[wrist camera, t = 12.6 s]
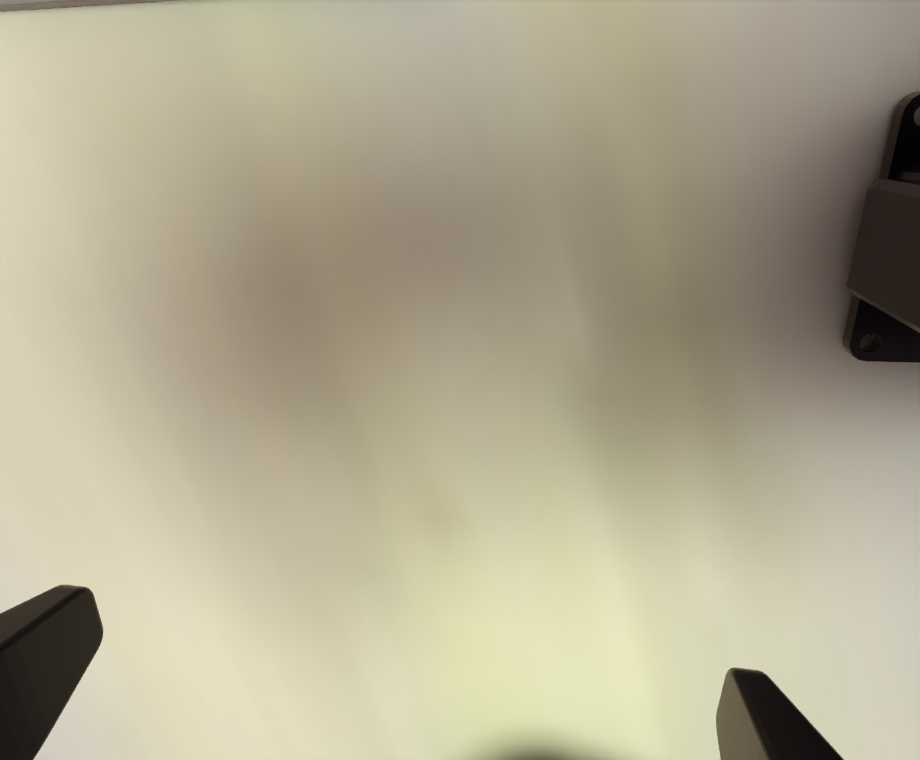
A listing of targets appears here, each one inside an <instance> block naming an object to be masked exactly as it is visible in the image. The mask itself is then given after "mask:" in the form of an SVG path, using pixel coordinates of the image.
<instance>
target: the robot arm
mask: <svg viewBox="0 0 920 760" xmlns="http://www.w3.org/2000/svg"><path fill="white" fill-rule="evenodd" d="M919 106H920V92H916V93H912V94H911V95H909V96H907V97H906V98H904V99H903V100H902V102H901V103H900V104H899V105H898V106H897V108H896V110H895V113H894V115H893V119H892V124H891V128H890V133H889V137H888V142H887V146H886V151H885V155H884V159H883V164H882V168H881V173H880V177H879V180H877V181H876V182H875V183H874V184H873V185H872V186H871V187H870V188H869V189H868V191H867V196H866V200H865V205H864V210H863V214H862V219H861V223H860V228H859V232H858V237H857V241H856V246H855V251H854V255H853V260H852V264H851V269H850V273H849V278H848V282H847V287H848V288H849V289H850V290H851V292H852V293H853V297H852V302H851V306H850V311H849V315H848V320H847V324H846V328H845V333H844V337H843V345H844V347H845V349H846V351H848V352H849V353H850V354H851V355H853V356H854V357H856V358H857V359H858V360H863V361H880V362H920V125H919V126H918V125H917V124H916V123H915V122H914V113H915V111H916V109H917V108H918V107H919ZM870 334H874V340H873V341H872V343H871V344H870V345H868V346H867V347H862V348H861V347H860V342H861V340H862V338H864V337H865V336H866V335H870ZM102 637H103V626H102V622H101V619H100V615H99V612H98V608H97V605H96V601H95V598H94V595H93V592H92V591H91V590H90V589H89V588H86V587H81V586H73V585H60V586H57V587H54V588H52V589H50V590H48V591H46V592H44V593H42V594H40V595H38V596H36V597H34V598H32V599H30V600H28V601H25V602H23V603H21V604H19V605H17V606H15V607H13V608H11V609H9V610H7V611H5V612H3V613H1V614H0V760H33V759H34V758H35V756H36V755H37V753H38V752H39V750H40V748H41V747H42V745H43V743H44V742H45V740H46V738H47V737H48V735H49V734H50V732H51V730H52V728H53V727H54V725H55V723H56V721H57V720H58V718H59V716H60V715H61V713H62V711H63V709H64V708H65V706H66V704H67V702H68V701H69V699H70V697H71V695H72V694H73V692H74V690H75V688H76V687H77V685H78V683H79V681H80V680H81V678H82V676H83V674H84V673H85V671H86V669H87V668H88V666H89V664H90V662H91V661H92V659H93V657H94V655H95V654H96V652H97V650H98V648H99V646H100V644H101V641H102ZM716 728H717V736H718V743H719V750H720V756H721V760H844V759H843V758H842V757H841V756H840V755H839V754H838V753H837V752H836V750H835V749H834V748H833V747H832V746H831V745H830V744H829V743H828V742H827V741H826V739H825V738H824V737H823V736H822V735H821V734H820V733H819V732H818V731H817V729H816V728H815V727H814V726H813V725H812V724H811V723H810V722H809V721H808V720H807V718H806V717H805V716H804V715H803V714H802V713H801V712H800V711H799V710H798V709H797V707H796V706H795V705H794V704H793V703H792V702H791V701H790V700H789V699H788V698H787V696H786V695H785V694H784V693H783V692H782V691H781V690H780V689H779V688H778V686H777V685H776V684H775V683H774V682H773V681H772V680H771V679H770V678H769V677H768V676H767V675H766V674H765V673H763V672H761V671H758V670H750V669H742V668H731V669H729V670H728V672H727V674H726V677H725V681H724V685H723V689H722V693H721V697H720V701H719V705H718V709H717V715H716Z"/></svg>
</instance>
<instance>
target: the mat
mask: <svg viewBox="0 0 920 760" xmlns="http://www.w3.org/2000/svg"><path fill="white" fill-rule="evenodd" d="M156 1H172V0H0V11H15V10H31V9H47V8H62V7H78V6H94V5H109V4H125V3H141V2H156Z"/></svg>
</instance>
